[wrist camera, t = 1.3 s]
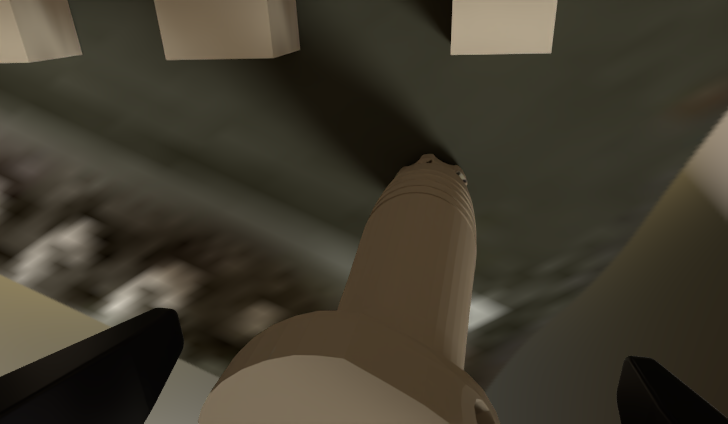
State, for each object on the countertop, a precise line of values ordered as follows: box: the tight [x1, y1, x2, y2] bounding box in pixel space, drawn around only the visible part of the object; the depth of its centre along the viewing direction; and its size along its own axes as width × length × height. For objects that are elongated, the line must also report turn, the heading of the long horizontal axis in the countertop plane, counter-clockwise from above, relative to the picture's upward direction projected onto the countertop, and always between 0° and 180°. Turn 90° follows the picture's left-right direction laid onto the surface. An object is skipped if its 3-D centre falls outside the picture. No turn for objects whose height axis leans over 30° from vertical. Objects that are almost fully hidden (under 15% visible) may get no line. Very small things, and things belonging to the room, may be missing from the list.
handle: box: [198, 154, 501, 424], centre depth 15 cm, size 5×6×15 cm
